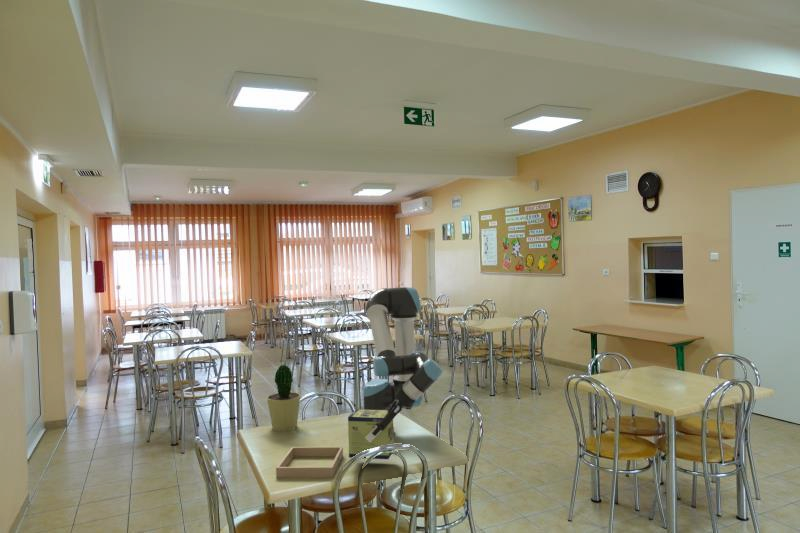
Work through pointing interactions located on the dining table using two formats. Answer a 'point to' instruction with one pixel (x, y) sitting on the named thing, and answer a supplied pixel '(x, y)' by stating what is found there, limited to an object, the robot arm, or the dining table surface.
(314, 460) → the dining table surface
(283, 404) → the potted cactus
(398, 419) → the dining table surface
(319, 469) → the tray
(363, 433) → the protein box
